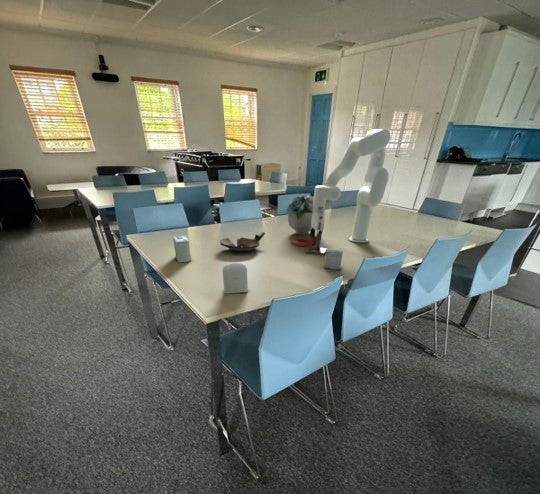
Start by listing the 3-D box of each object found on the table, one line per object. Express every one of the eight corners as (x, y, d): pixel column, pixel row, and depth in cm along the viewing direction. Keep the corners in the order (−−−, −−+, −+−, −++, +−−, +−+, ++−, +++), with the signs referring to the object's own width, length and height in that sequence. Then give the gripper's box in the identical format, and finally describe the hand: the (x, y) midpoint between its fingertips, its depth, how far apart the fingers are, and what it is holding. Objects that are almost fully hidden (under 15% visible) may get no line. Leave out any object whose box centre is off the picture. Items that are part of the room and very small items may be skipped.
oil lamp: (215, 246, 189) (214, 233, 184) (262, 243, 198) (262, 230, 193) (224, 257, 172) (223, 243, 167) (274, 253, 181) (275, 239, 176)
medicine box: (340, 267, 162) (343, 250, 157) (339, 270, 159) (341, 253, 154) (325, 265, 164) (327, 248, 159) (324, 268, 161) (326, 251, 156)
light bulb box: (175, 256, 171) (172, 236, 164) (187, 255, 173) (185, 235, 167) (178, 262, 163) (175, 241, 156) (191, 261, 165) (189, 240, 159)
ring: (297, 247, 192) (298, 240, 189) (291, 242, 201) (291, 235, 199) (321, 245, 196) (322, 239, 193) (314, 240, 205) (315, 234, 203)
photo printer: (224, 294, 131) (222, 265, 124) (223, 290, 134) (221, 262, 127) (248, 293, 133) (247, 264, 125) (247, 289, 136) (246, 261, 129)
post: (310, 248, 190) (312, 231, 184) (326, 250, 187) (329, 232, 181) (306, 253, 182) (308, 234, 176) (323, 255, 179) (325, 236, 173)
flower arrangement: (321, 238, 211) (326, 198, 196) (285, 237, 211) (287, 197, 196) (317, 229, 231) (321, 192, 217) (284, 228, 231) (286, 191, 217)
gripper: (330, 211, 182) (326, 241, 192) (318, 206, 196) (315, 234, 206) (318, 211, 180) (315, 242, 190) (307, 206, 194) (304, 235, 204)
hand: (315, 238), depth 198 cm, fingers open, 9 cm apart
